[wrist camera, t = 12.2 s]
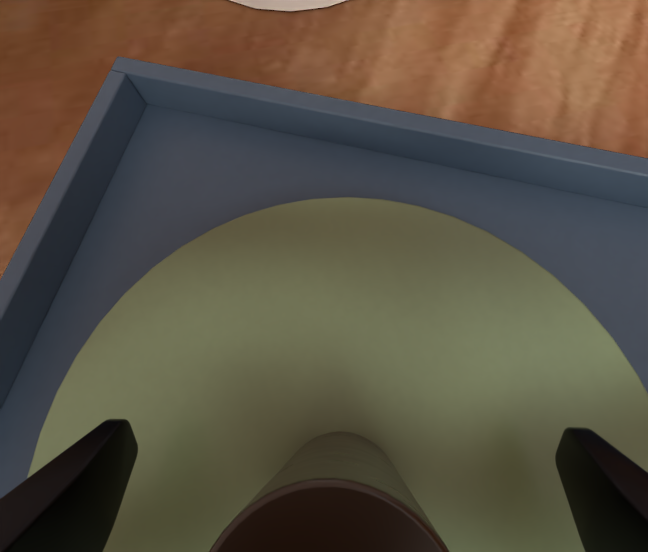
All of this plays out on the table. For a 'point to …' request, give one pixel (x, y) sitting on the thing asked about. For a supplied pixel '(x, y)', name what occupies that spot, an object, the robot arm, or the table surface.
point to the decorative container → (288, 4)
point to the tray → (286, 187)
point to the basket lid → (348, 388)
